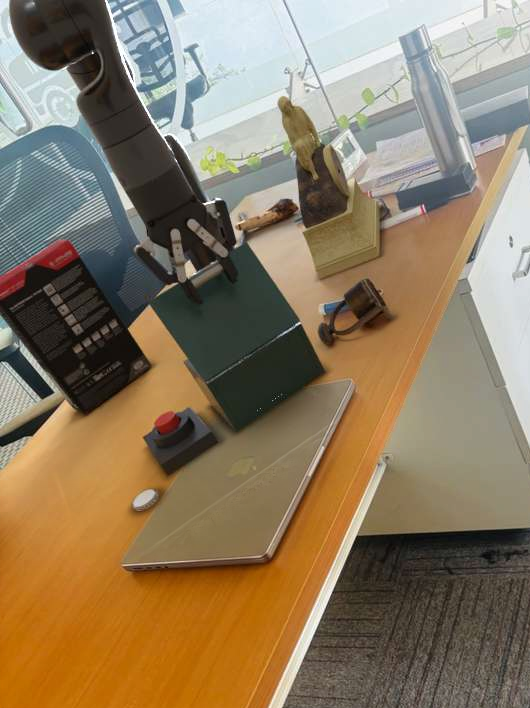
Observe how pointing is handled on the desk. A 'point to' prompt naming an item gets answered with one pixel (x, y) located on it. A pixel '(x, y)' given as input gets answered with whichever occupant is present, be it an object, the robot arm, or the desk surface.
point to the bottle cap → (145, 499)
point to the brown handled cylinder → (356, 309)
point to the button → (167, 422)
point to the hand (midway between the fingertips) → (216, 291)
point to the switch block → (180, 441)
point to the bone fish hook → (269, 215)
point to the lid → (225, 313)
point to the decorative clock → (329, 200)
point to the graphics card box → (70, 326)
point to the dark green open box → (262, 377)
